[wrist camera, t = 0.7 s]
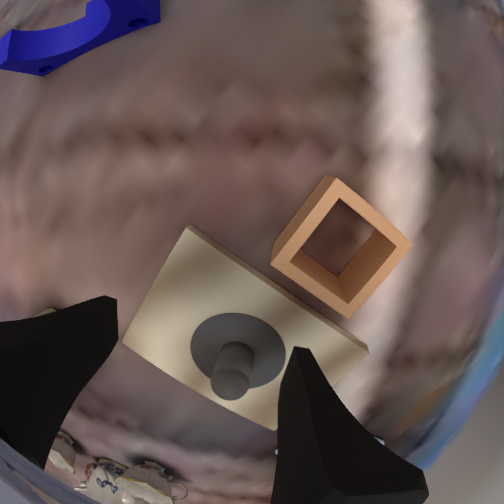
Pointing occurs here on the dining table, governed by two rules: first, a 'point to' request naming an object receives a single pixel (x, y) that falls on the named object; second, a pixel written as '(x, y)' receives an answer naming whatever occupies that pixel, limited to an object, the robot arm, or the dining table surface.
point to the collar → (359, 268)
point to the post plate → (232, 329)
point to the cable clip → (75, 35)
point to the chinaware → (116, 478)
